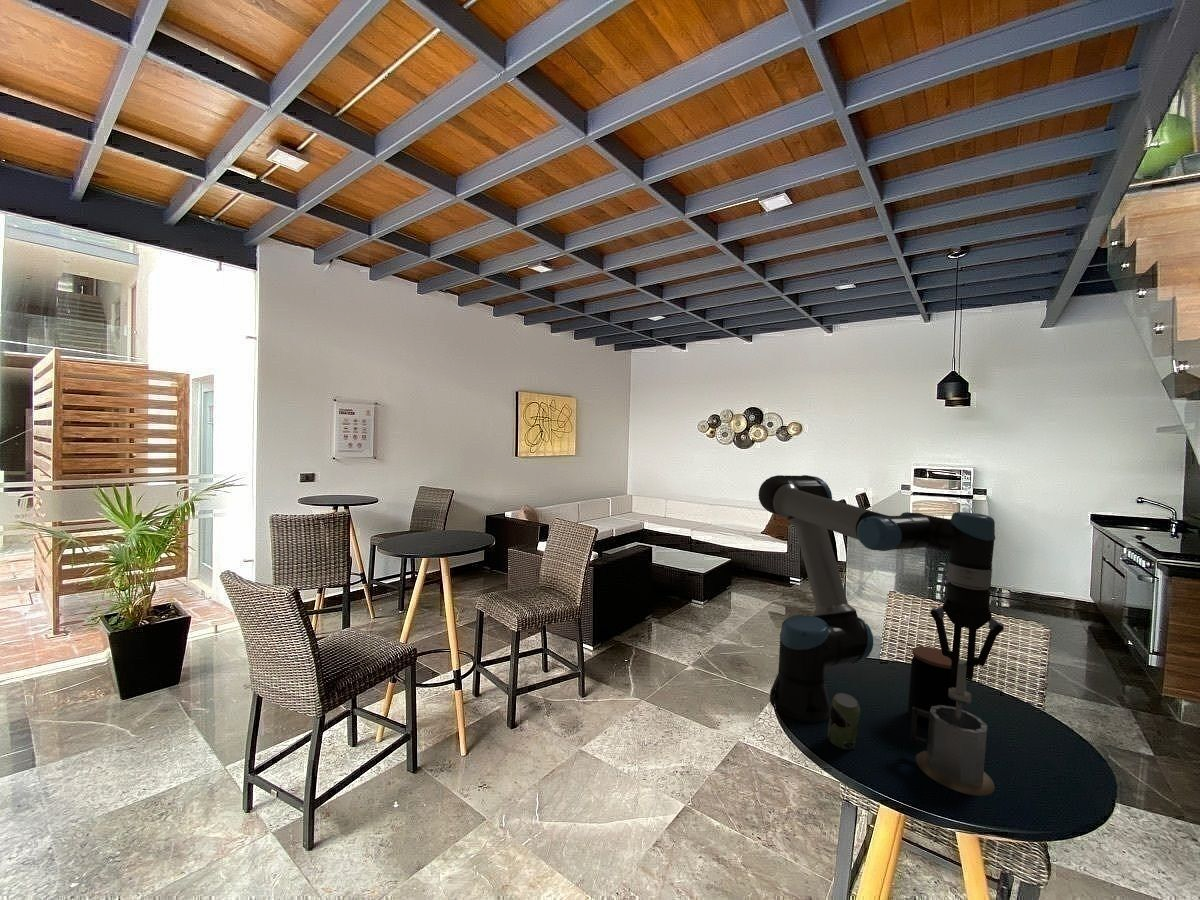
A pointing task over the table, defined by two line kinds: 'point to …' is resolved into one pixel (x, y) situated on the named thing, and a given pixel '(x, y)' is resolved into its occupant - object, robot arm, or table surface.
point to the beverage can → (843, 721)
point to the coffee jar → (930, 681)
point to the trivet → (981, 791)
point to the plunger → (959, 703)
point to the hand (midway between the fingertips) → (960, 691)
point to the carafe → (953, 745)
